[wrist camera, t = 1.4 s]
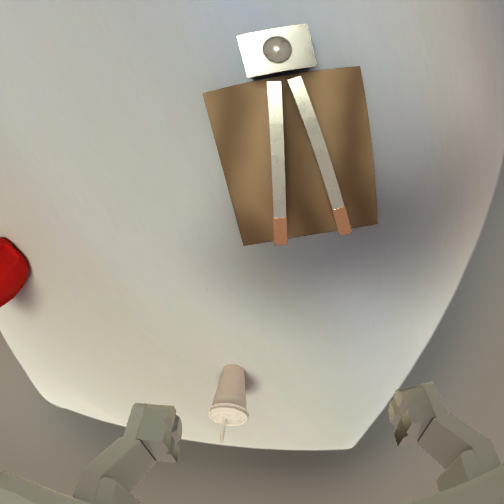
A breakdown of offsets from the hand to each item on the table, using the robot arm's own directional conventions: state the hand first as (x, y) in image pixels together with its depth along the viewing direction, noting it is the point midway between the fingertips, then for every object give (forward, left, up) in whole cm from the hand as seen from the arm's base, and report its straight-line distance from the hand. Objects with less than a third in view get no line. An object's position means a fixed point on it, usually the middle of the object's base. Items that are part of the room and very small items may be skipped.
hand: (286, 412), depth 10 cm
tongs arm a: (-5, -2, -26) cm, 27 cm away
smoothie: (+14, +33, -28) cm, 45 cm away
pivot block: (-2, -13, -28) cm, 31 cm away
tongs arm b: (0, -2, -26) cm, 26 cm away
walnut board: (-2, -1, -28) cm, 28 cm away
